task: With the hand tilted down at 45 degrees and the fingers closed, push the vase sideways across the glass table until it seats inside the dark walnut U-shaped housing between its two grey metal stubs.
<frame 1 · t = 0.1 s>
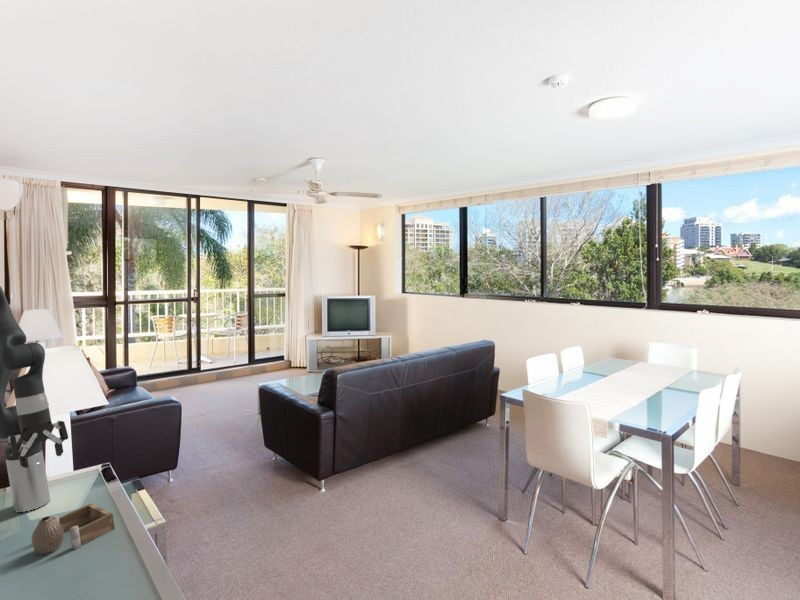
hand: (42, 461, 142), 17 cm above the table, tool pointing down, fingers open, 8 cm apart
vase: (50, 550, 126), on the table
housing: (86, 531, 133), on the table
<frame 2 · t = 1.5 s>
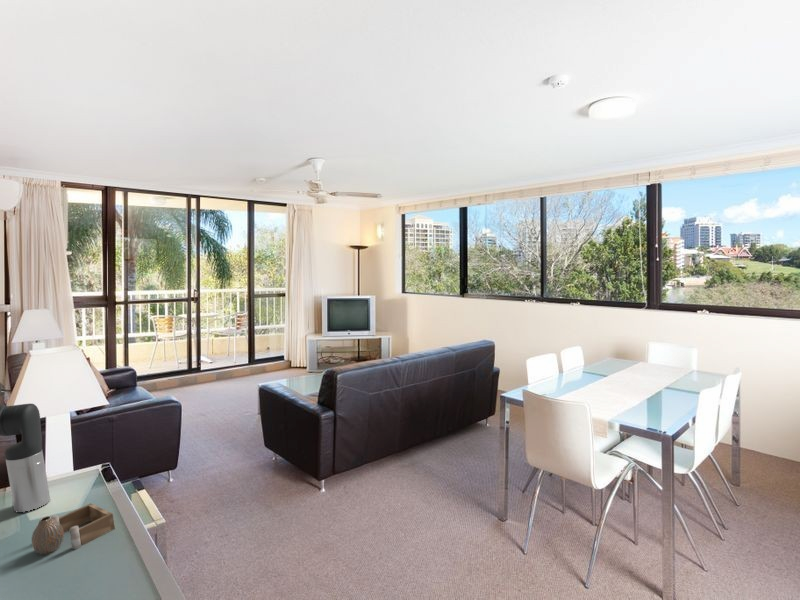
nothing on the table moved.
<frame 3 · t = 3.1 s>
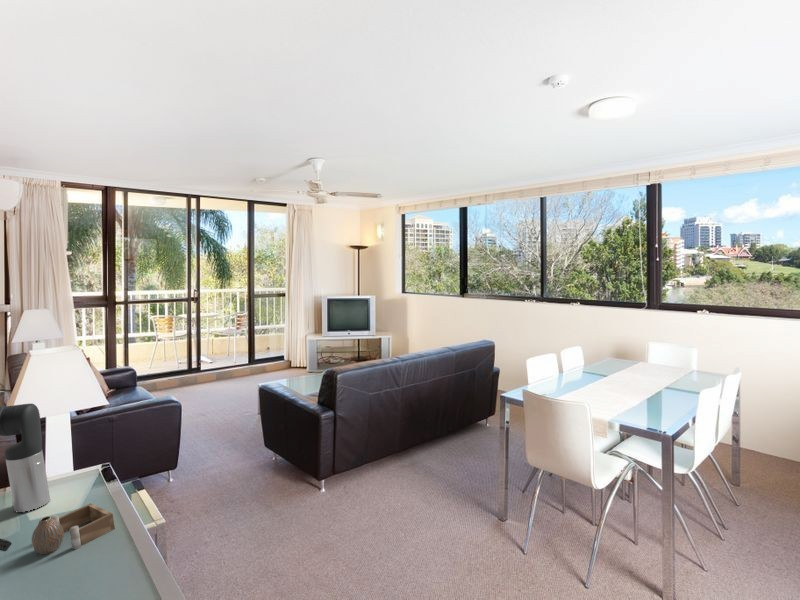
hand: (7, 546, 118), 6 cm above the table, tool tilted 45°, fingers closed
nothing on the table moved.
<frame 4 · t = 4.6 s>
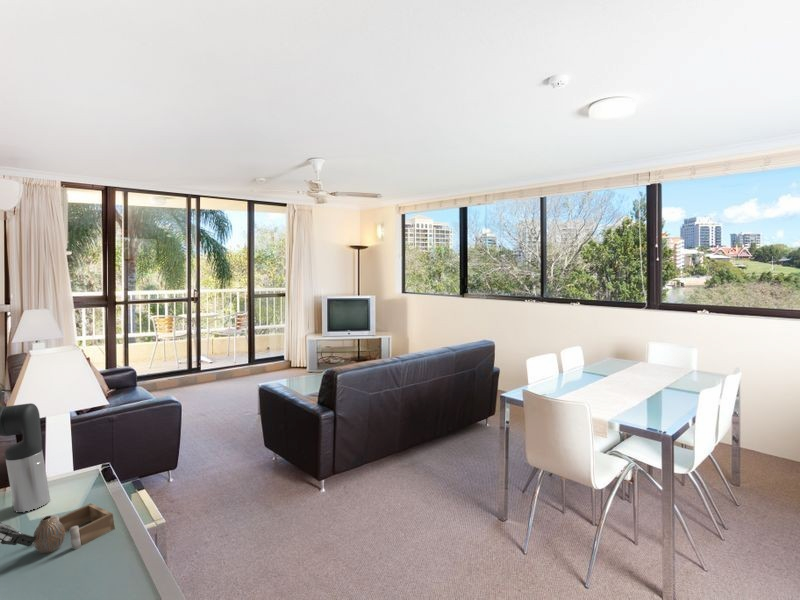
hand: (31, 541, 122), 4 cm above the table, tool tilted 45°, fingers closed
vase: (51, 549, 126), on the table, touching gripper
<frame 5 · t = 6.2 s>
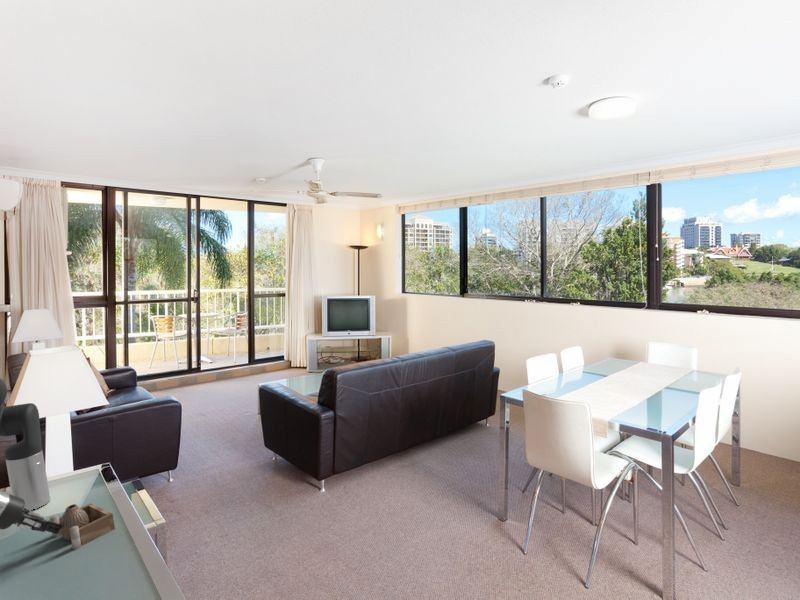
hand: (58, 529, 127), 4 cm above the table, tool tilted 45°, fingers closed
vase: (75, 536, 131), on the table, touching gripper
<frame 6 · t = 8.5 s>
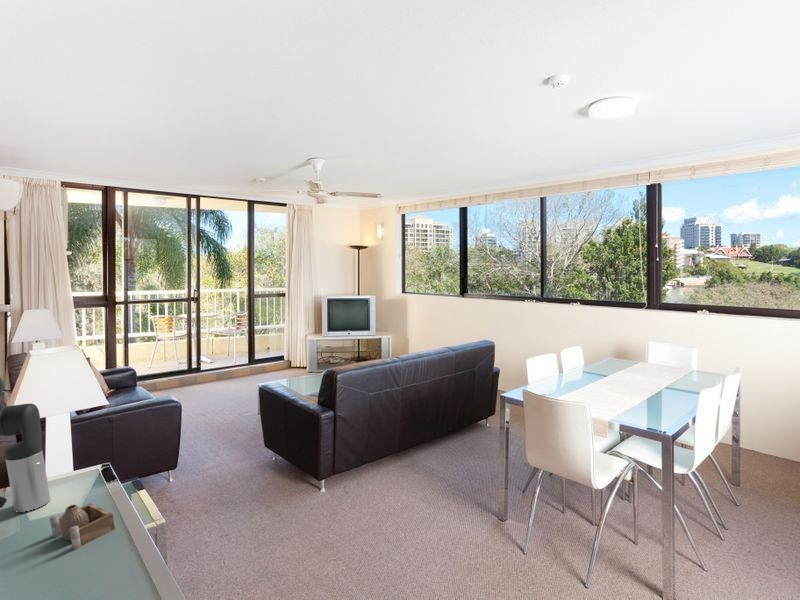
hand: (3, 503, 117), 17 cm above the table, tool tilted 45°, fingers closed
vase: (76, 536, 131), on the table
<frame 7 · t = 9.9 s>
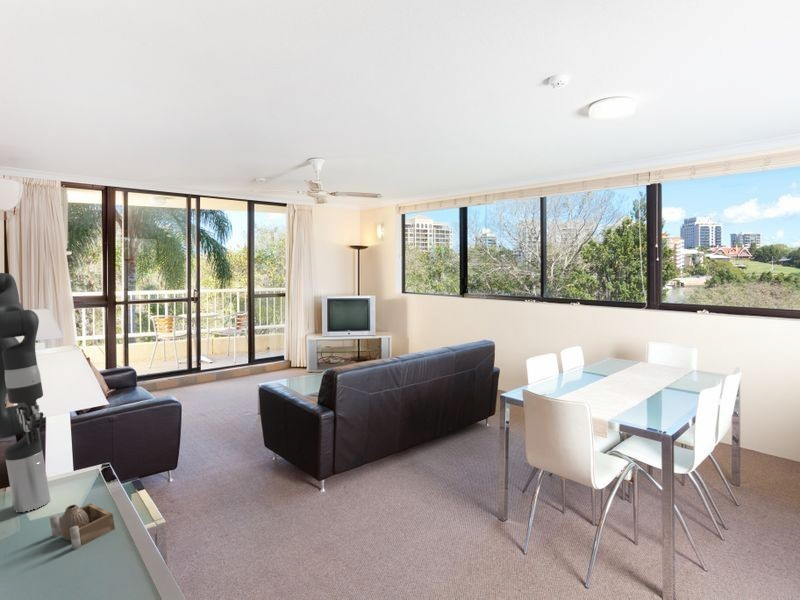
hand: (33, 443, 130), 27 cm above the table, tool pointing down, fingers closed
nothing on the table moved.
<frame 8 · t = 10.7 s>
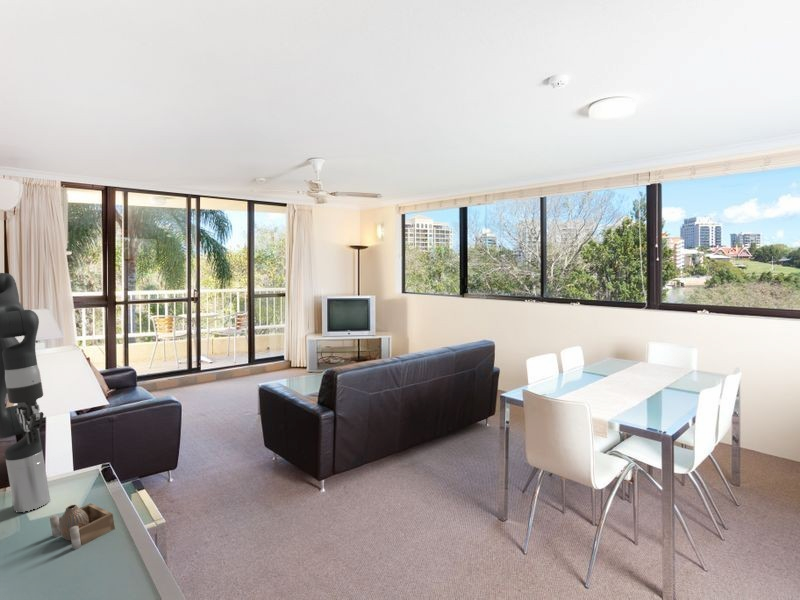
hand: (33, 443, 130), 27 cm above the table, tool pointing down, fingers closed
nothing on the table moved.
at the end: vase inside the target area (1.2 cm from its centre), on the table; vase tilted 0° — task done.
